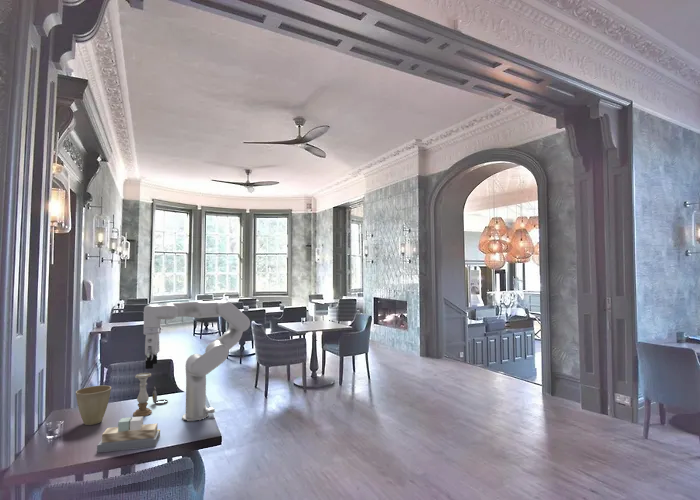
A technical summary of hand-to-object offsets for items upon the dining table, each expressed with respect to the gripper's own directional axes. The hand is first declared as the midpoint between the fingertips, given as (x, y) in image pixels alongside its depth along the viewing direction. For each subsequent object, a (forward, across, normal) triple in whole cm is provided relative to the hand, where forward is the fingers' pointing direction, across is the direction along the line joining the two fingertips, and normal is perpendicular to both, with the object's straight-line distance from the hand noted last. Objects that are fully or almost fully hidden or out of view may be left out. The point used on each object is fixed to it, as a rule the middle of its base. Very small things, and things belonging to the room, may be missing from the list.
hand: (151, 366), depth 199 cm
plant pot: (+28, +12, +28) cm, 42 cm away
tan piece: (+25, -20, +4) cm, 33 cm away
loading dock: (+28, -20, +4) cm, 35 cm away
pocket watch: (+28, +34, +2) cm, 44 cm away
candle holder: (+28, +18, +7) cm, 34 cm away
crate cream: (+22, -20, +2) cm, 30 cm away
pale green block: (+22, -20, +6) cm, 30 cm away
